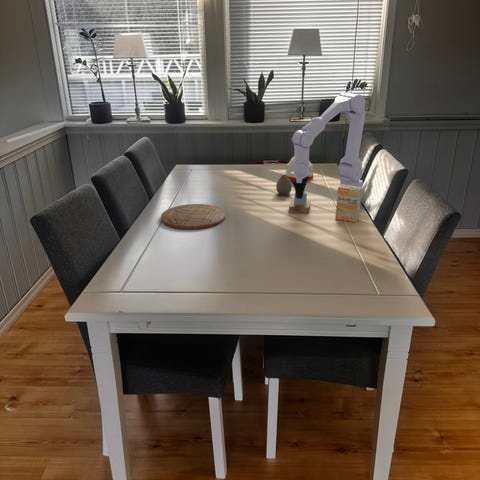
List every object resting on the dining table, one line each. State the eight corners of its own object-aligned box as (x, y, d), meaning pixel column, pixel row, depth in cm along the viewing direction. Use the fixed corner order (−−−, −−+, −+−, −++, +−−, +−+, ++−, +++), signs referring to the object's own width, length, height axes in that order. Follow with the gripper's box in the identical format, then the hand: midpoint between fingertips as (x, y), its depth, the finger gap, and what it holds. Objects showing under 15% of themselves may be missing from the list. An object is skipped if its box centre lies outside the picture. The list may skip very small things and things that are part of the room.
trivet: (216, 232, 163) (216, 228, 163) (151, 228, 168) (151, 224, 167) (231, 209, 186) (231, 205, 185) (173, 206, 190) (173, 202, 190)
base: (310, 208, 186) (310, 201, 185) (308, 214, 179) (309, 207, 178) (290, 206, 188) (291, 200, 187) (288, 213, 181) (288, 206, 180)
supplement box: (334, 219, 172) (337, 187, 167) (338, 215, 176) (340, 183, 171) (356, 223, 169) (359, 189, 163) (359, 219, 173) (362, 186, 167)
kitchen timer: (282, 180, 223) (283, 150, 217) (288, 172, 235) (289, 144, 229) (310, 181, 220) (312, 151, 213) (314, 174, 232) (316, 145, 226)
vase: (291, 192, 205) (292, 173, 202) (291, 196, 199) (292, 177, 195) (276, 191, 206) (276, 173, 202) (275, 196, 200) (276, 177, 196)
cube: (306, 202, 184) (307, 191, 183) (305, 205, 180) (305, 194, 179) (295, 201, 185) (296, 190, 184) (294, 204, 181) (294, 194, 180)
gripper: (293, 157, 183) (292, 189, 188) (289, 166, 170) (288, 200, 175) (310, 158, 181) (309, 190, 187) (307, 167, 169) (306, 201, 174)
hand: (300, 195), depth 181 cm, fingers open, 7 cm apart
